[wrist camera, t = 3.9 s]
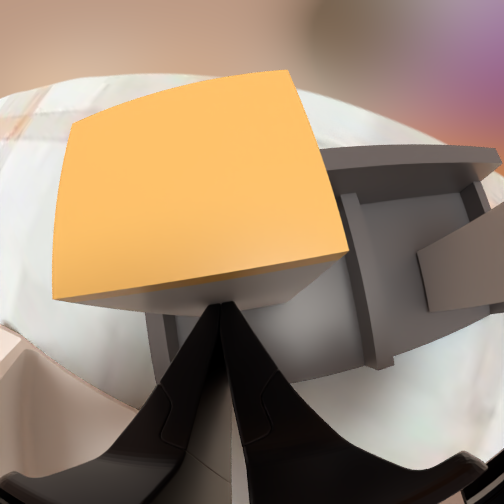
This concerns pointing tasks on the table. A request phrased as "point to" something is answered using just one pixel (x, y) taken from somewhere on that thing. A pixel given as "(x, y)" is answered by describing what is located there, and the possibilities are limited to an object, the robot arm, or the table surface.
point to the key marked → (195, 201)
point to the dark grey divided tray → (367, 264)
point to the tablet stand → (51, 412)
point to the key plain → (466, 265)
